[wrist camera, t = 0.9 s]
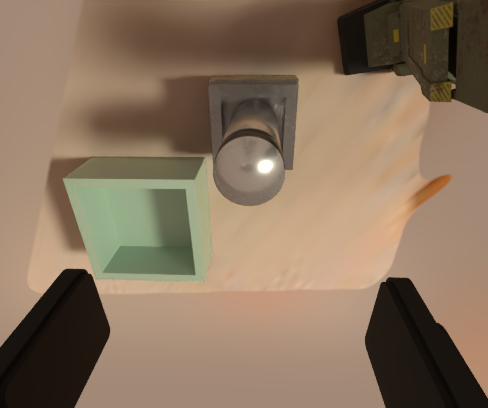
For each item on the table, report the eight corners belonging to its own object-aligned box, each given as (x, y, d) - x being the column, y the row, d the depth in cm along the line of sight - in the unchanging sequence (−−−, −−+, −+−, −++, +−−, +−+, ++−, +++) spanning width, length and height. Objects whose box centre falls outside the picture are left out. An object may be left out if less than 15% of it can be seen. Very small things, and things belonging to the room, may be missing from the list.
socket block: (213, 75, 30) (205, 83, 26) (295, 75, 30) (301, 82, 25) (218, 153, 34) (211, 170, 30) (290, 153, 34) (294, 171, 29)
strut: (229, 100, 28) (209, 138, 18) (277, 99, 28) (287, 138, 17) (230, 146, 30) (214, 206, 20) (276, 147, 30) (283, 207, 20)
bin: (92, 156, 35) (62, 178, 30) (204, 157, 34) (194, 179, 29) (116, 248, 41) (95, 279, 36) (212, 250, 41) (205, 282, 35)
